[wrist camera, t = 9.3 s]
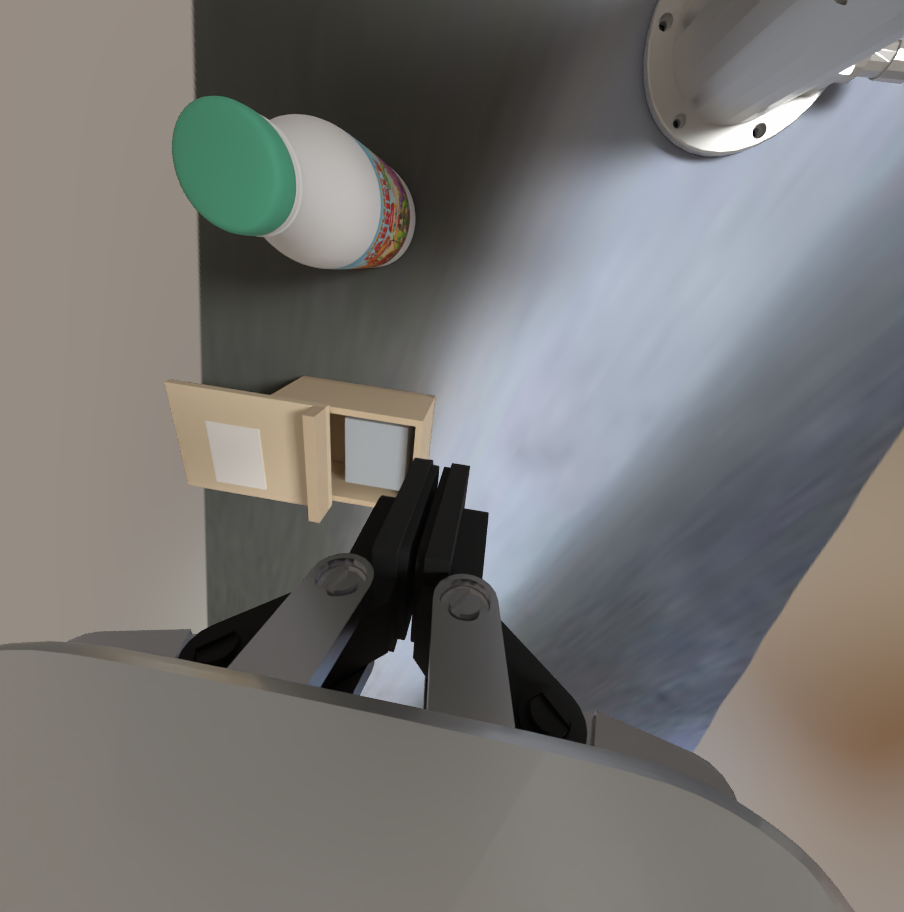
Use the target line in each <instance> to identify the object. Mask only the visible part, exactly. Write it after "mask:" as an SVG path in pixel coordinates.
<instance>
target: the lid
mask: <svg viewBox="0 0 904 912" xmlns="http://www.w3.org/2000/svg"><path fill="white" fill-rule="evenodd" d="M164 383H165V387H166V392H167V395H168V400H169V404H170V409H171V413H172V417H173V422H174V426H175V430H176V434H177V438H178V443H179V447H180V452H181V456H182V460H183V464H184V469H185V473H186V477H187V482H188V485H191V486H197V487H203V488H209V489H214V490H220V491H226V492H232V493H238V494H243V495H249V496H255V497H261V498H267V499H272V500H278V501H284V502H290V503H296V504H301V505H307V506H308V514H309V521H312V522H317V523H320V521H321V520H322V518H323V517H324V515H325V514H326V513H327V511H328V510H329V508H330V507H331V505H332V485H331V449H330V413H329V404H323V403H316V402H310V401H304V400H297V399H291V398H285V397H279V396H272V395H266V394H260V393H254V392H247V391H241V390H235V389H229V388H222V387H216V386H210V385H203V384H197V383H191V382H185V381H178V380H168V381H165V382H164Z"/></svg>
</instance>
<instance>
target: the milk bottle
mask: <svg viewBox="0 0 904 912" xmlns="http://www.w3.org/2000/svg"><path fill="white" fill-rule="evenodd" d="M172 155H173V162H174V167H175V171H176V174H177V177H178V180H179V182H180V185H181V187H182V189H183V191H184V193H185V195H186V196H187V198H188V199H189V201H190V202H191V204H192V205H193V206H194V208H195V209H196V210H197V211H198V212H199V213H200V214H201V215H202V216H203V217H204V218H205V219H207V220H208V221H209V222H211V223H212V224H214V225H215V226H217V227H219V228H221V229H223V230H225V231H227V232H230V233H234V234H239V235H245V236H258V237H264V238H265V239H266V240H267V241H268V242H269V243H270V244H271V245H272V246H274V247H275V248H276V249H277V250H278V251H280V252H281V253H283V254H284V255H285V256H287V257H289V258H291V259H293V260H295V261H297V262H299V263H301V264H304V265H308V266H311V267H315V268H322V269H361V268H376V267H382V266H386V265H389V264H391V263H393V262H394V261H396V260H397V259H398V258H400V257H401V256H402V255H403V254H404V252H405V251H406V250H407V248H408V246H409V244H410V242H411V240H412V237H413V234H414V229H415V208H414V203H413V199H412V196H411V194H410V191H409V189H408V187H407V186H406V184H405V182H404V181H403V180H402V178H401V177H400V176H399V175H398V174H397V173H396V172H395V171H394V170H393V169H392V168H391V167H390V166H388V165H387V164H386V163H385V162H384V161H382V160H381V159H380V158H379V157H378V156H376V155H375V154H374V153H373V152H372V151H370V150H369V149H368V148H366V147H365V146H364V145H363V144H361V143H360V142H359V141H358V140H356V139H355V138H354V137H352V136H351V135H350V134H348V133H347V132H345V131H344V130H342V129H341V128H339V127H337V126H336V125H334V124H332V123H330V122H328V121H325V120H323V119H320V118H317V117H314V116H310V115H303V114H289V115H283V116H278V117H275V118H273V119H271V120H269V119H267V118H265V117H264V116H262V115H260V114H258V113H257V112H255V111H254V110H252V109H251V108H249V107H247V106H246V105H244V104H242V103H240V102H238V101H235V100H233V99H230V98H227V97H222V96H205V97H201V98H198V99H196V100H194V101H193V102H191V103H190V104H189V105H187V106H186V107H185V108H184V110H183V111H182V112H181V114H180V116H179V118H178V120H177V122H176V125H175V128H174V133H173V140H172Z"/></svg>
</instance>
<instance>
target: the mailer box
mask: <svg viewBox="0 0 904 912" xmlns="http://www.w3.org/2000/svg"><path fill="white" fill-rule="evenodd" d="M271 395H272V396H279V397H285V398H291V399H297V400H304V401H310V402H316V403H323V404H329V413H330V449H331V485H332V500H333V501H339V502H345V503H351V504H357V505H363V506H368V507H374V506H375V505H376V503H377V501H378V499H379V498H380V496H382V495H385V496H391V497H396V496H397V494H398V492H399V490H400V488H401V485H402V483H403V481H404V479H405V477H406V475H407V473H408V471H409V468H410V466H411V464H412V462H413V460H414V458H422V459H428V460H429V451H430V442H431V433H432V423H433V414H434V405H435V396H431V395H425V394H418V393H412V392H406V391H399V390H393V389H386V388H380V387H374V386H367V385H361V384H354V383H348V382H342V381H335V380H329V379H322V378H316V377H310V376H302V377H301V378H299V379H297V380H295V381H294V382H292V383H290V384H289V385H287V386H285V387H283V388H282V389H280V390H278V391H276V392H275V393H273V394H271Z"/></svg>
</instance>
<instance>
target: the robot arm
mask: <svg viewBox="0 0 904 912" xmlns="http://www.w3.org/2000/svg"><path fill="white" fill-rule="evenodd" d="M659 25H664V32H663V31H661V30H660V29H659ZM855 77H865V78H868V79H870V80H872V81H880V82H889V83H898V84H901V83H903V82H904V0H658V3H657V5H656V7H655V9H654V13H653V16H652V20H651V23H650V26H649V30H648V33H647V39H646V46H645V52H644V73H643V81H644V87H645V93H646V99H647V103H648V106H649V109H650V111H651V114H652V117H653V119H654V121H655V122H656V124H657V125H658V127H659V129H660V130H661V132H662V133H663V134H664V135H665V136H666V137H667V138H668V139H669V140H670V141H671V142H672V143H673V144H674V145H676V146H678V147H680V148H681V149H683V150H685V151H687V152H689V153H693V154H697V155H701V156H725V155H730V154H735V153H739V152H742V151H744V150H747V149H749V148H752V147H755V146H757V145H759V144H761V143H763V142H764V141H766V140H768V139H770V138H772V137H774V136H776V135H777V134H778V133H780V132H781V131H783V130H784V129H785V128H787V127H788V126H790V125H791V124H792V123H794V122H795V121H796V120H797V119H798V118H799V117H800V116H801V115H802V114H803V113H804V112H805V111H806V110H807V109H808V108H809V107H811V106H812V104H813V103H814V102H815V101H816V99H817V98H818V97H819V96H820V95H821V93H822V92H823V91H824V90H825V89H826V87H827V86H828V85H830V84H832V83H838V84H845V83H848V82H850V81H851V80H852V79H854V78H855ZM673 121H677V122H678V127H677V128H674V126H673ZM753 130H754V131H755V133H756V134H755V136H754V137H753V135H752V133H753ZM469 470H470V466H467V465H461V464H454V463H452V465H451V468H449V467H444V469H443V472H442V476H441V479H440V482H439V485H438V477H439V466H436V465H433V460H428V459H422V458H414V460H413V462H412V464H411V466H410V468H409V471H408V473H407V475H406V477H405V479H404V481H403V483H402V485H401V488H400V490H399V492H398V494H397V496H396V497H391V496H385V495H382V496H380V498H379V499H378V501H377V503H376V505H375V506H374V508H373V510H372V512H371V514H370V516H369V518H368V519H367V521H366V523H365V525H364V527H363V529H362V531H361V533H360V534H359V536H358V538H357V540H356V542H355V544H354V546H353V547H352V549H351V551H350V553H341V554H335V555H332V556H328V557H327V558H325V559H323V560H321V561H319V562H318V563H317V564H316V565H315V566H314V567H313V568H312V569H311V570H310V571H309V573H308V574H307V575H306V576H305V577H304V578H303V580H302V581H301V582H300V583H299V584H298V585H297V587H296V588H295V589H294V590H293V591H292V592H291V593H289V594H286V595H284V596H281V597H279V598H277V599H274V600H272V601H269V602H267V603H265V604H262V605H260V606H257V607H255V608H253V609H250V610H248V611H245V612H243V613H240V614H238V615H236V616H233V617H231V618H228V619H226V620H224V621H221V622H219V623H216V624H214V625H212V626H210V627H208V628H206V629H204V630H202V631H201V632H199V633H198V634H192V632H191V629H179V630H142V631H104V632H103V631H102V632H94V633H88V634H84V635H81V636H79V637H76V638H74V639H71V640H69V641H68V642H54V641H46V642H25V643H24V642H23V643H10V644H3V645H0V912H855V911H854V910H853V908H852V907H851V905H850V904H849V903H848V901H847V900H846V899H845V897H844V896H843V894H842V893H841V892H840V890H839V889H838V887H837V886H836V885H835V884H834V883H833V881H832V880H831V879H830V878H829V877H828V876H827V874H826V873H825V872H824V871H823V869H822V868H821V867H820V866H819V865H818V864H817V863H816V862H815V861H814V860H813V859H812V858H811V857H810V856H809V855H808V854H807V853H806V852H805V851H804V850H803V849H802V848H801V847H799V846H798V845H797V844H796V843H795V842H793V841H792V840H791V839H790V838H788V837H787V836H786V835H785V834H783V833H782V832H781V831H780V830H778V829H777V828H776V827H774V826H773V825H772V824H770V823H769V822H767V821H766V820H765V819H763V818H762V817H760V816H759V815H757V814H756V813H754V812H753V811H751V810H750V809H748V808H747V807H745V806H744V805H742V804H741V803H739V802H738V801H737V800H736V797H735V795H734V792H733V790H732V789H731V787H730V786H729V784H728V783H727V781H726V780H725V778H724V777H723V776H722V774H720V773H719V772H718V771H717V770H716V769H715V768H714V767H713V766H712V765H711V764H710V763H709V762H708V761H706V760H704V759H703V758H701V757H700V756H698V755H696V754H695V753H692V752H690V751H688V750H686V749H683V748H681V747H679V746H676V745H674V744H672V743H670V742H667V741H665V740H663V739H660V738H658V737H656V736H654V735H651V734H649V733H647V732H644V731H642V730H640V729H638V728H635V727H633V726H631V725H628V724H626V723H624V722H622V721H619V720H617V719H615V718H613V717H610V716H608V715H606V714H603V713H601V712H599V711H596V713H595V715H593V714H591V713H588V712H586V711H584V710H582V709H581V708H580V707H579V705H578V704H577V703H576V701H575V700H574V699H573V697H572V696H571V695H570V694H569V693H568V692H567V691H566V690H565V688H564V687H563V686H562V685H561V684H560V683H559V682H558V681H557V680H556V679H555V678H554V677H553V676H552V675H551V673H550V672H549V671H548V670H547V669H546V668H545V667H544V666H543V665H542V664H541V663H540V662H539V661H538V660H537V658H536V657H535V656H534V655H533V654H532V653H531V652H530V651H529V650H528V649H527V648H526V647H525V646H524V644H523V643H522V642H521V641H520V640H519V639H518V638H517V637H516V636H515V635H514V634H513V633H512V632H511V631H510V629H509V628H508V627H507V626H506V625H505V624H504V623H503V622H502V621H501V618H500V611H499V604H498V599H497V596H496V592H495V591H494V590H493V588H492V587H491V586H490V585H489V584H488V583H487V582H486V581H484V580H483V579H482V576H483V566H484V556H485V546H486V535H487V525H488V514H489V513H488V512H482V511H476V510H470V509H464V507H465V499H466V492H467V485H468V477H469ZM411 617H412V626H411V642H414V652H413V658H414V660H415V661H416V663H417V664H418V666H419V667H420V669H421V670H422V672H423V673H424V675H425V680H424V697H423V709H421V708H417V707H412V706H407V705H402V704H397V703H393V702H388V701H383V700H378V699H373V698H369V697H364V696H360V694H361V692H362V690H363V688H364V686H365V684H366V682H367V680H368V678H369V676H370V674H371V672H372V669H373V666H374V660H376V659H377V658H379V657H381V656H383V655H384V654H386V653H388V651H391V652H394V649H395V646H396V643H397V639H401V640H405V638H406V635H407V631H408V627H409V624H410V620H411Z"/></svg>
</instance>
